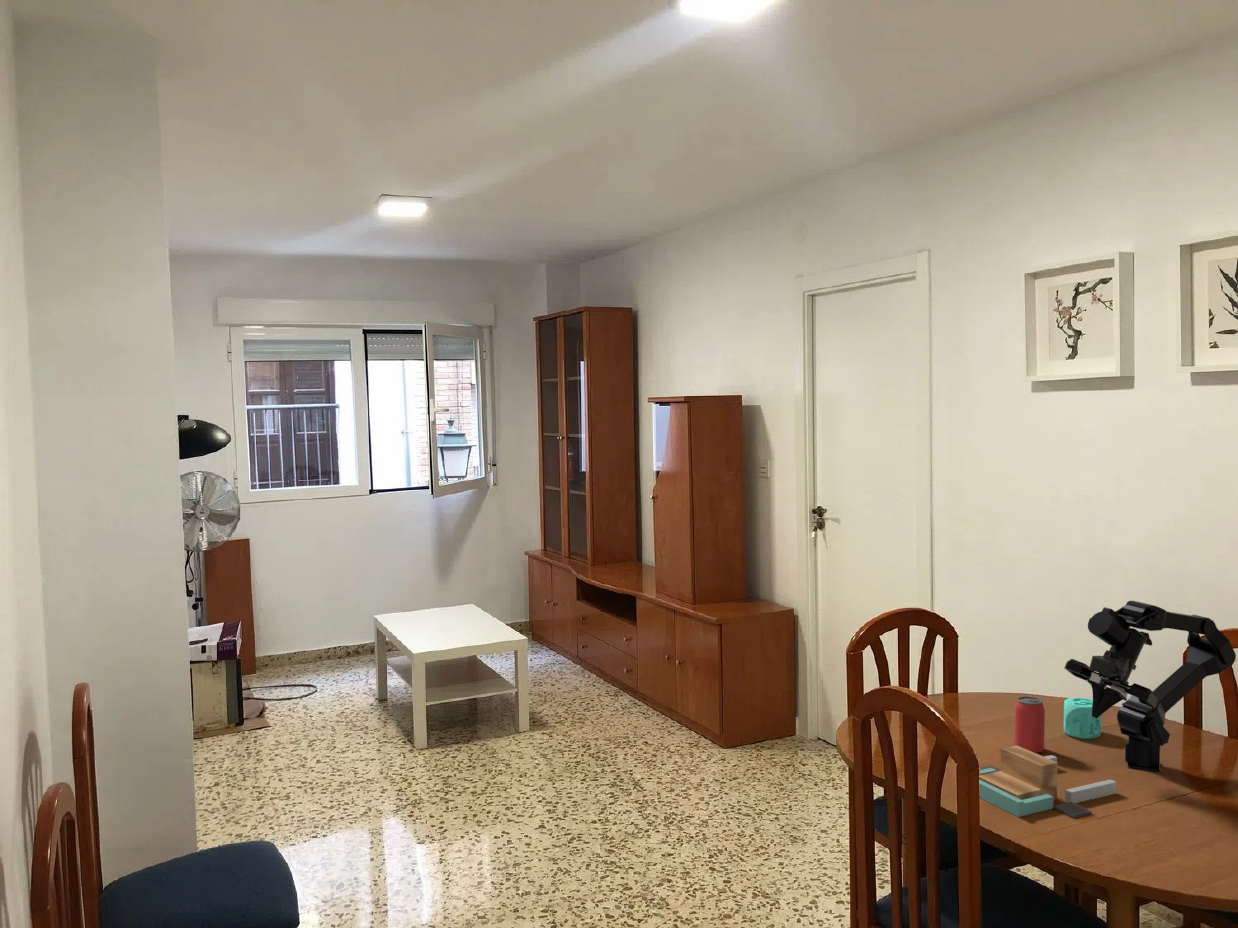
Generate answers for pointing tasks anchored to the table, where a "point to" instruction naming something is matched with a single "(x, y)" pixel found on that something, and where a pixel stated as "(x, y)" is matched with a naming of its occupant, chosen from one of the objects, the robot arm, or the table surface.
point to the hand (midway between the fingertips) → (1094, 717)
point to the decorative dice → (1081, 719)
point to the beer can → (1029, 724)
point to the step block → (1024, 774)
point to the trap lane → (1044, 797)
